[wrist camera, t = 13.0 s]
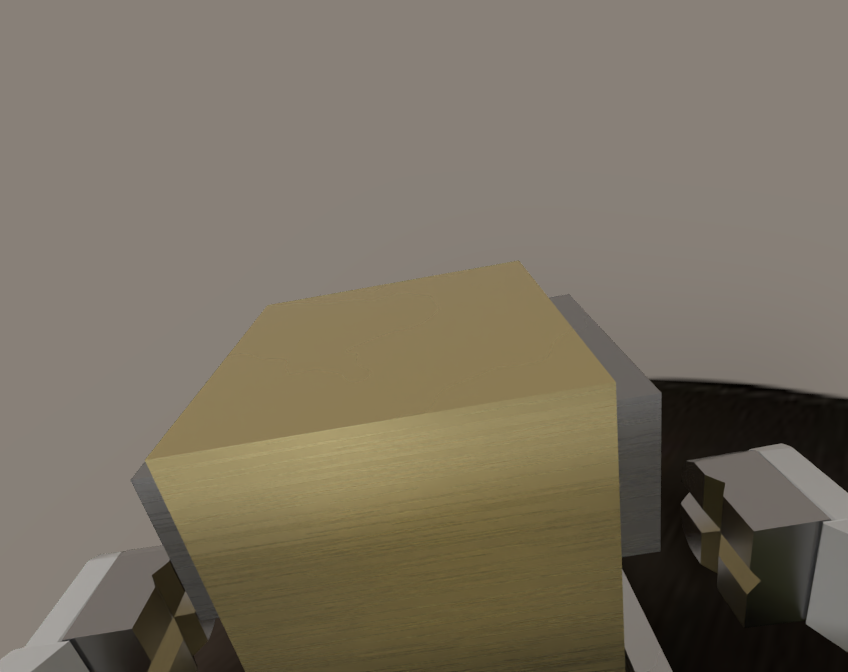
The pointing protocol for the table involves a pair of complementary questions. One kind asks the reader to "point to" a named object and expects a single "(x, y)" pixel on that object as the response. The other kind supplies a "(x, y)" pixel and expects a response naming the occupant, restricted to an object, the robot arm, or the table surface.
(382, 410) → the pale yellow rectangular block
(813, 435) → the table surface
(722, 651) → the table surface
